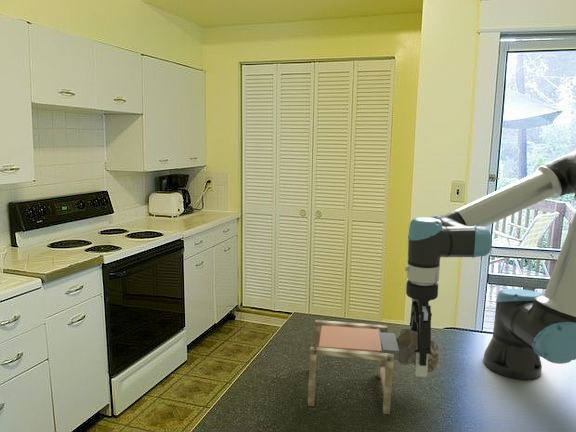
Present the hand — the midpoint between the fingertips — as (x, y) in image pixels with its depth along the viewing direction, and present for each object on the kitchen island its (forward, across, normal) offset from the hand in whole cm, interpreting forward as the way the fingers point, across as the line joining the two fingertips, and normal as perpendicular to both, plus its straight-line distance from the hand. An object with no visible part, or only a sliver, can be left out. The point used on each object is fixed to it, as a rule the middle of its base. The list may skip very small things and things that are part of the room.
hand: (417, 365), depth 113 cm
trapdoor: (-4, +1, -15) cm, 16 cm away
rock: (+1, 0, 0) cm, 1 cm away
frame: (+7, +1, -18) cm, 19 cm away
